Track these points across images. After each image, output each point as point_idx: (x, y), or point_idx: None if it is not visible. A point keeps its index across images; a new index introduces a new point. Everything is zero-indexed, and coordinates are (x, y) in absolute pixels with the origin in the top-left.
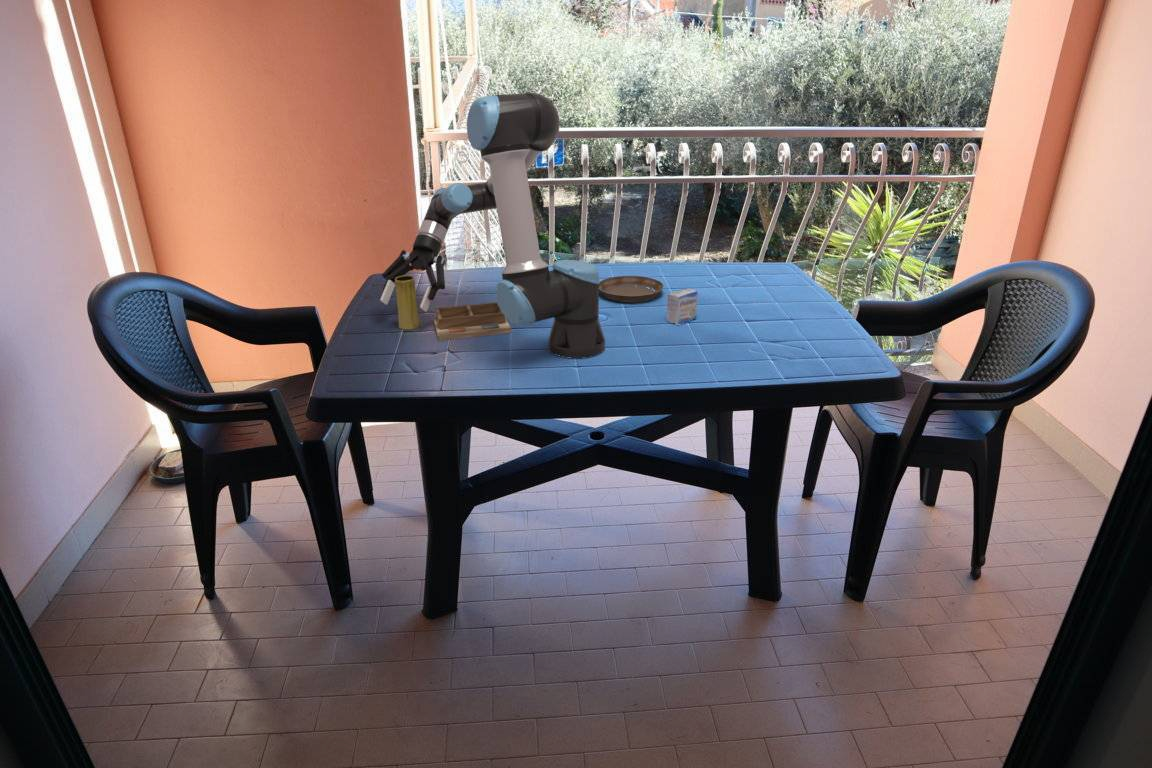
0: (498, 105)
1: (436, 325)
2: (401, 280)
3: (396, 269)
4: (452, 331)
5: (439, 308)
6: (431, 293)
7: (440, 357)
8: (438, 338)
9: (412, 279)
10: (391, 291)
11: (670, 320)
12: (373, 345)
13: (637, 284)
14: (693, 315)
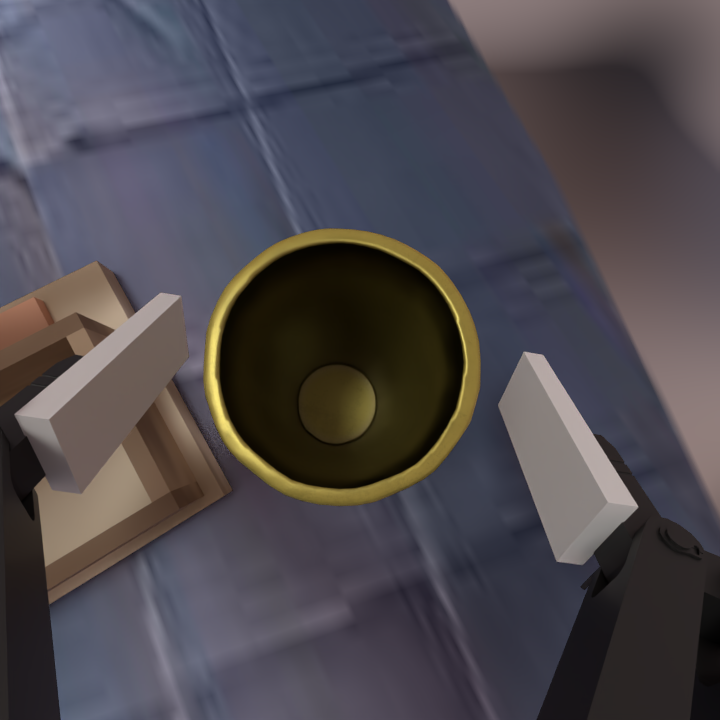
0: None
1: None
2: (426, 431)
3: (690, 703)
4: (22, 306)
5: (147, 507)
6: (47, 385)
7: (38, 110)
8: (112, 275)
9: (205, 351)
10: (534, 476)
11: None
12: (381, 159)
13: None
14: None
